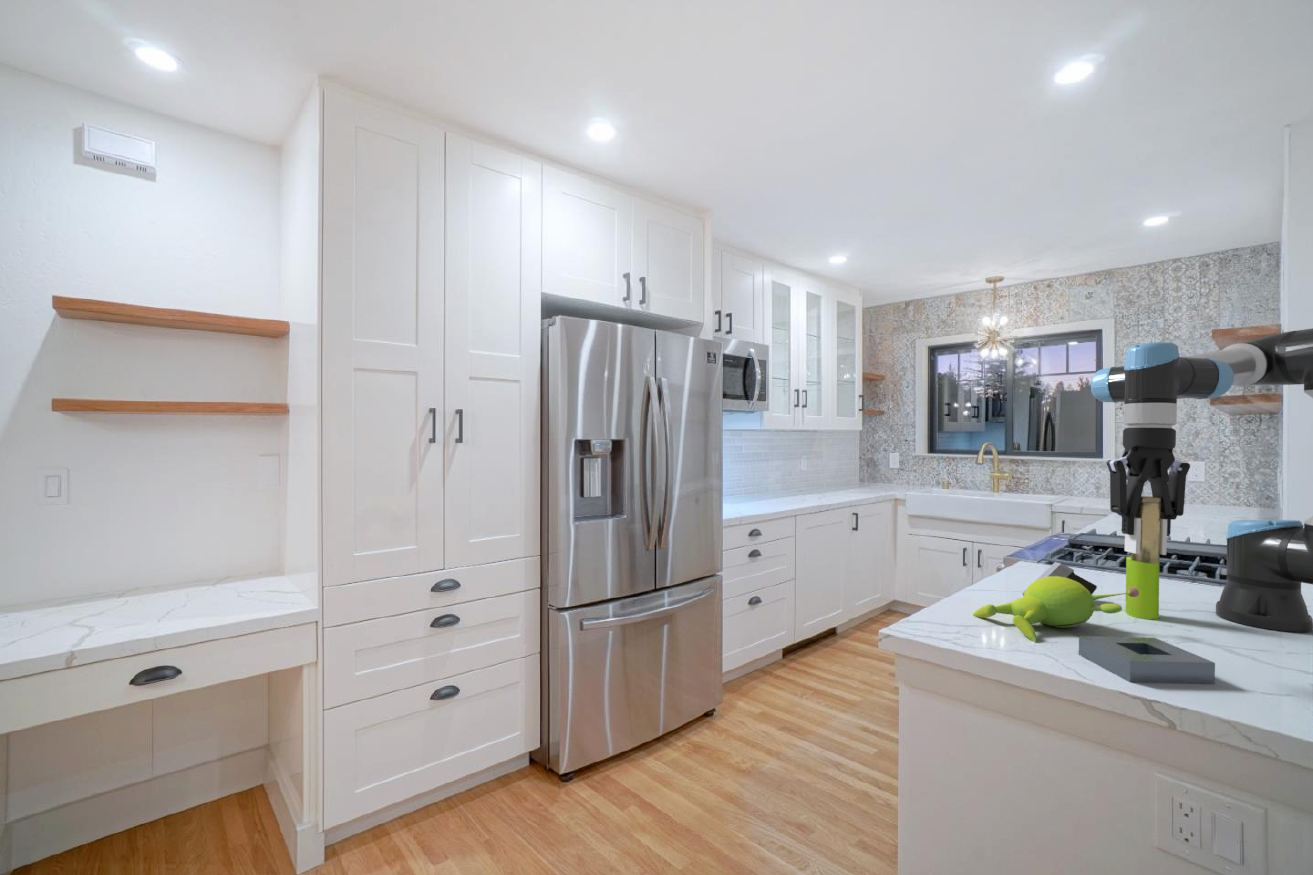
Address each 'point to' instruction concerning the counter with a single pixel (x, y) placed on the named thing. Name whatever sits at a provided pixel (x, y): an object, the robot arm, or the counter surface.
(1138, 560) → the gold metallic cylinder
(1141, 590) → the soap dispenser
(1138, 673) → the jig
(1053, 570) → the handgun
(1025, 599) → the toy
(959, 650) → the counter surface
